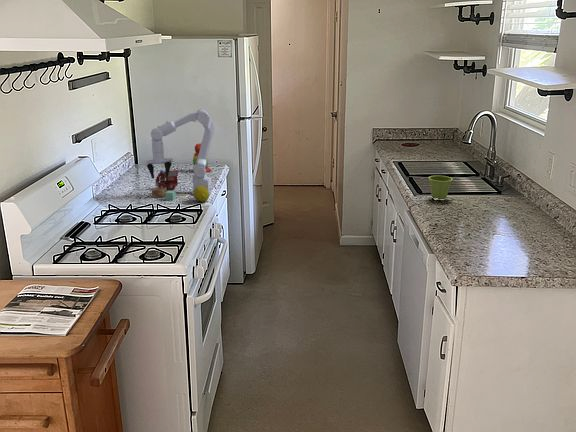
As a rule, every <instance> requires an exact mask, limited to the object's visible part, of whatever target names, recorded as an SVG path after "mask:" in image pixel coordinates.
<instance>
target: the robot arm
mask: <svg viewBox="0 0 576 432" xmlns="http://www.w3.org/2000/svg"><path fill="white" fill-rule="evenodd" d="M190 122H194V123H195V122H196V123H197V122H199V124H201V125H202V127H203V128H204V132H203V136H202V139H201V140H202V141H201V142H200V144H201V147H200V151H199V155H198V158H197V161H196V163H195V165H193V167H192V171H193V175H192V184H193V186H192V187H193V191H192V192H191V193H190V195H194V190H195V188H196V187H198V186H204V187H206V188H207V189H208V191H209V195H210V194H211V193H212V192H213V188H212V187H213V186H212V177H210V176H207V174H206V173H207V172H206V170H205V166H206V160H207V158H208V156H209V152H210V149H211V144H212V139H213V136H214V132H215V125H214V122H213V119H212V117H211V116H210V113H208V111H207V110H206V109H204V108H200V109H197V110H195V111H192V112H190V113H188V114H186V115H184V116H183V117H180V118H179V119H177V120H175V121H172V120H169V121H168V120H167V121H165V122H164V123H163V124H161V125H157V127H154V128H153V129H152V130H151V131H150V137H151V152H152V159H150V160H149V159H148V160H145V161H144V165H145V166H146V168H147V169H148V170H149V171H148V172H149V174H150V177H151V179H155V172H154V171H155V170H154V168H155V167H154V166H155V165H159V164H164V170H165V171H164V172H165V174H166V176H167V177H168V174H169V171H171V167H172V164H173V163H174V160H173V158H171V157H170V158H165V152H164V151H165V150H164V142H163V137H166V136H169V135H170V134H172V133H174V132H176V130H177V128H179V127H182V126H183V125H185V124H188V123H190Z"/></svg>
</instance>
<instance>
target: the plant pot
mask: <svg viewBox="0 0 576 432" xmlns="http://www.w3.org/2000/svg"><path fill="white" fill-rule="evenodd" d="M428 180H429V185H430V193H431V195H430V196H432V197H433V198H438V199H445V198H446V199H448V193H449V190H450V186H451V184H452V183H451V182H452V181H453V177H451V176H450V177H449V176H446V175H431V176H428Z"/></svg>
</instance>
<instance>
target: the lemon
mask: <svg viewBox="0 0 576 432" xmlns="http://www.w3.org/2000/svg"><path fill="white" fill-rule="evenodd" d="M193 191H194V194H193V198H194V199H195V200H196V201H198V202H201V203H205V202H207V201H208V199H209V198H210V194H209V191H208V189H207V188H206V187H204V186H198V187H196V188H195V190H194V189H193Z"/></svg>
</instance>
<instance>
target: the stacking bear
mask: <svg viewBox="0 0 576 432" xmlns="http://www.w3.org/2000/svg"><path fill="white" fill-rule="evenodd" d="M200 147H201V142H200V143H196V144H195V145H194V151H195V152H194V154H193V157H192V165H193V166H194V165H195V163H196V161H197V158H198V155H199V151H200ZM208 166H209V159H208V157H207V160H206V166H205V170H206V173H211V171H212V170H213V169H212V168H210V167H208Z"/></svg>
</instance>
